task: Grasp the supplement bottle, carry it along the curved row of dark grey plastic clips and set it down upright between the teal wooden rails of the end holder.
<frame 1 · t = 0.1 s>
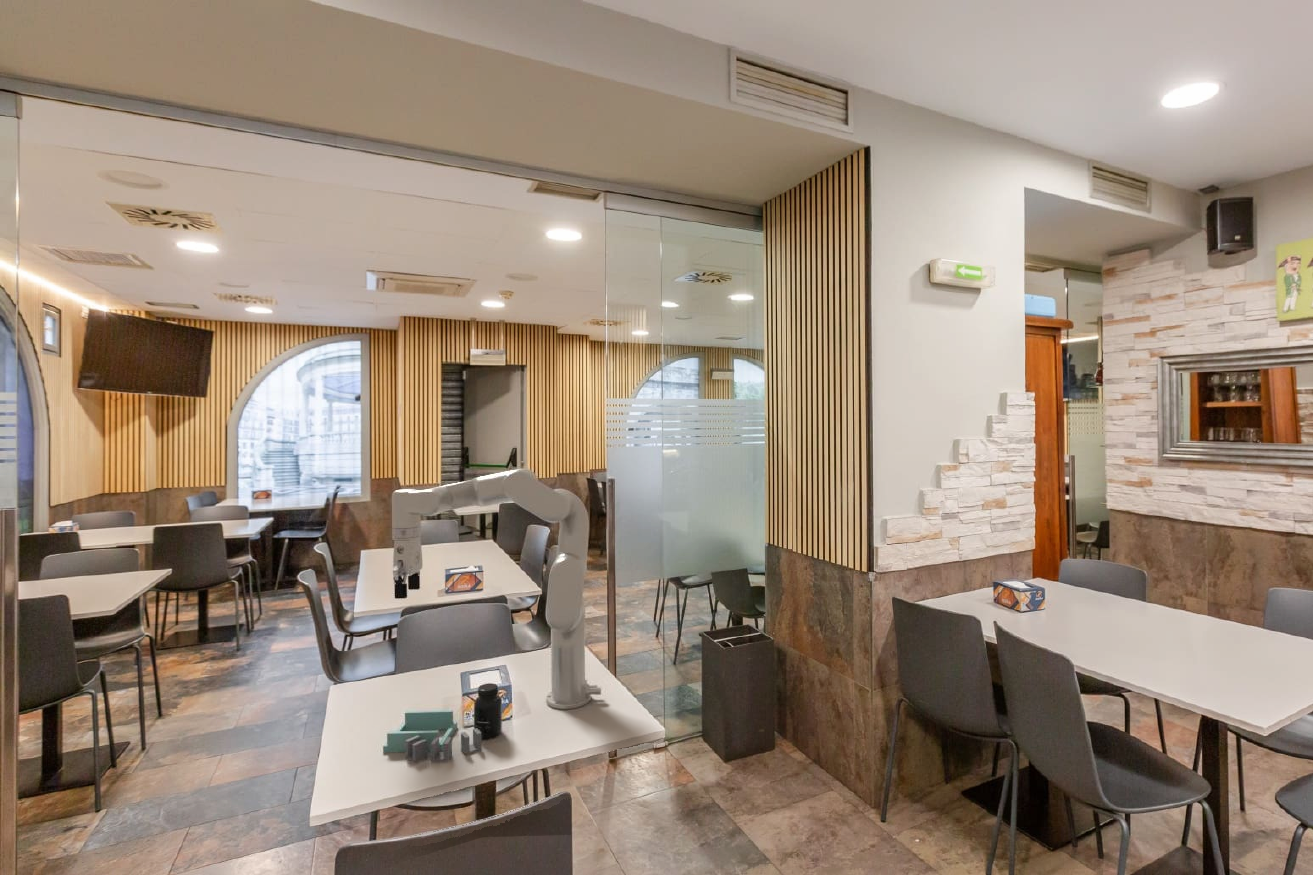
hand: (407, 593, 174), 31 cm above the table, fingers open, 9 cm apart
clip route: (444, 753, 147), on the table
end holder: (421, 739, 154), on the table
supplement bottle: (488, 734, 156), on the table
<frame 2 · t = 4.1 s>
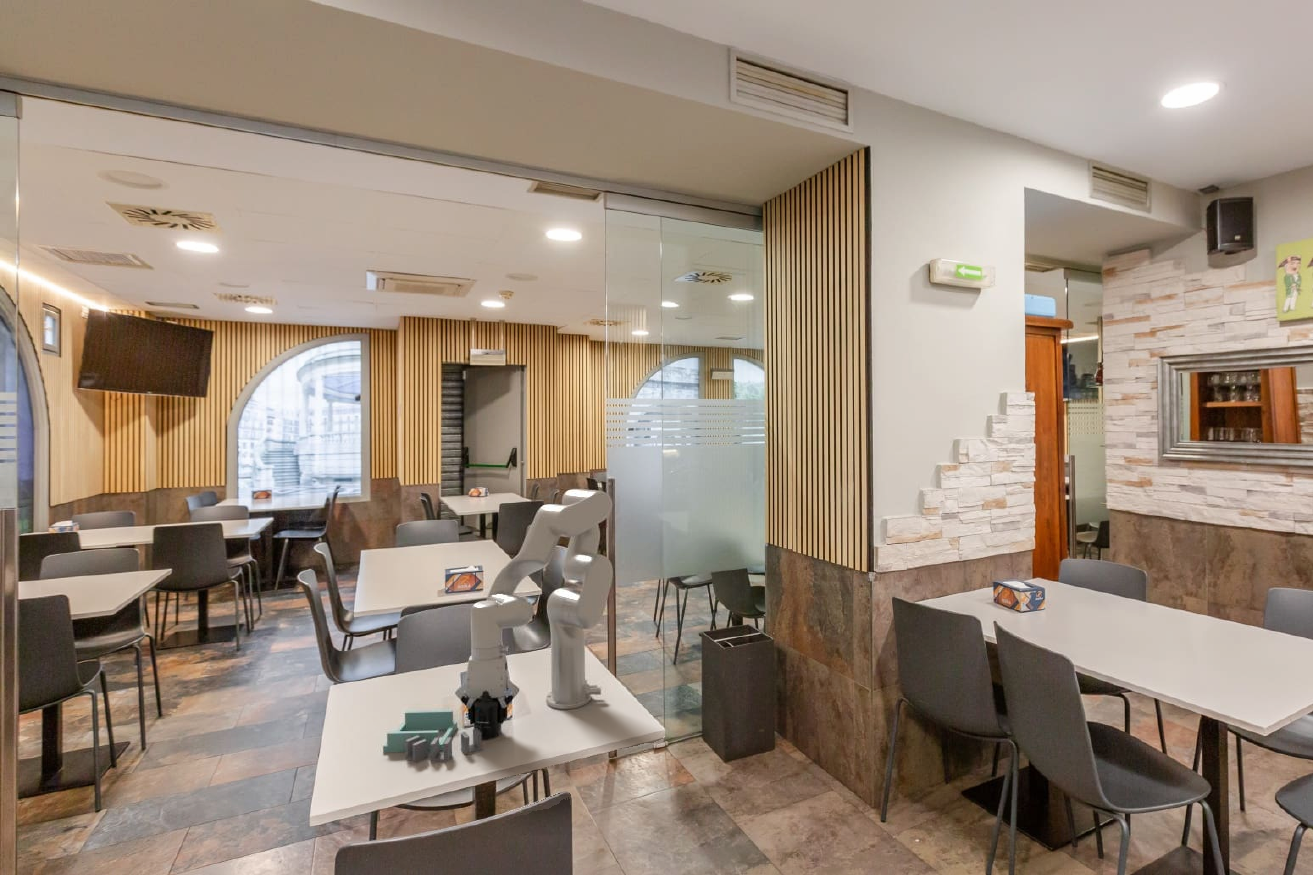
hand: (487, 721, 156), 3 cm above the table, fingers closed on supplement bottle, 6 cm apart
supplement bottle: (487, 734, 156), on the table, touching gripper
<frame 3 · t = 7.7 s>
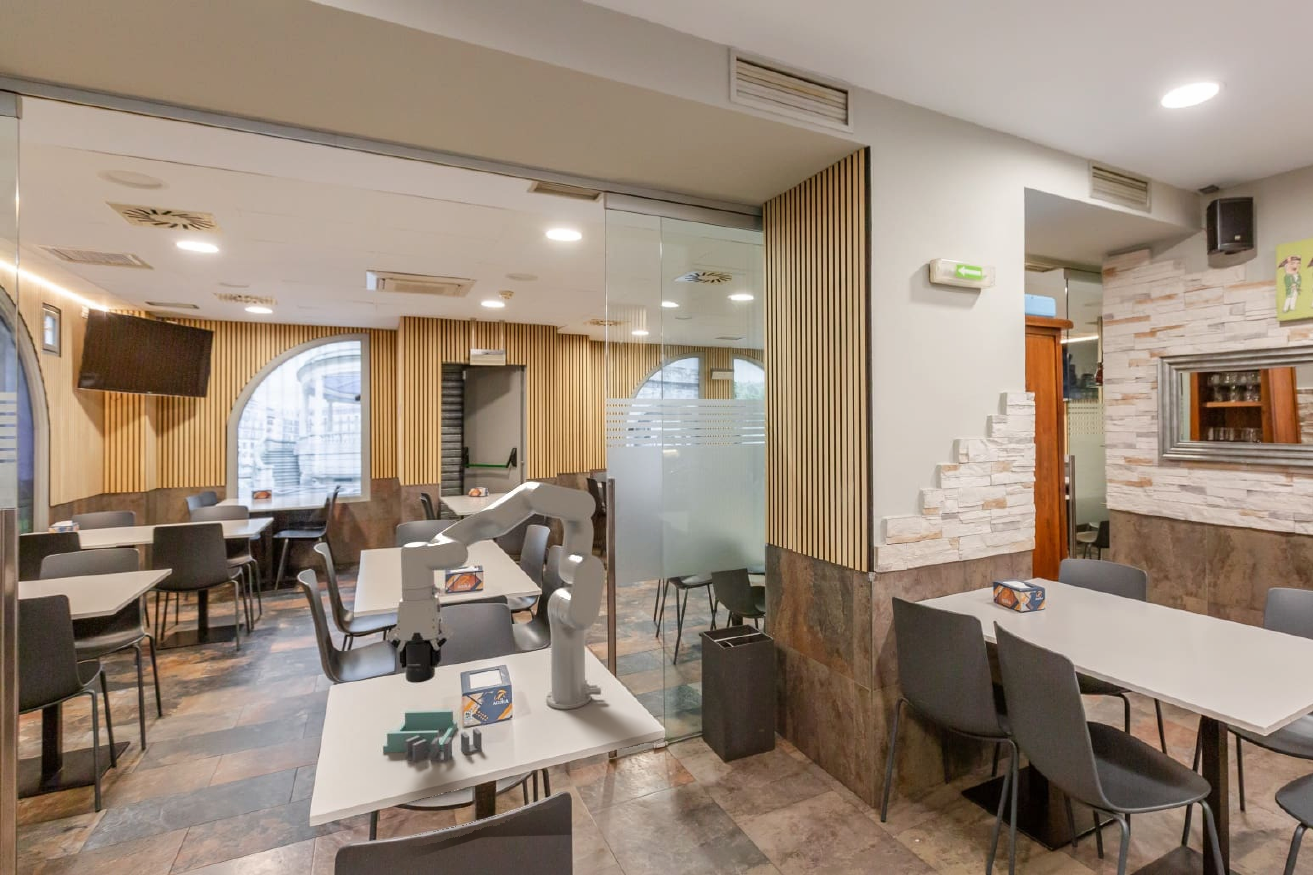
hand: (420, 664, 152), 19 cm above the table, fingers closed on supplement bottle, 6 cm apart
supplement bottle: (420, 678, 152), point 16 cm above the table, touching gripper
when the fingers open (5 cm above the table, at t = 11.3 s): supplement bottle drops 1 cm, resting in end holder.
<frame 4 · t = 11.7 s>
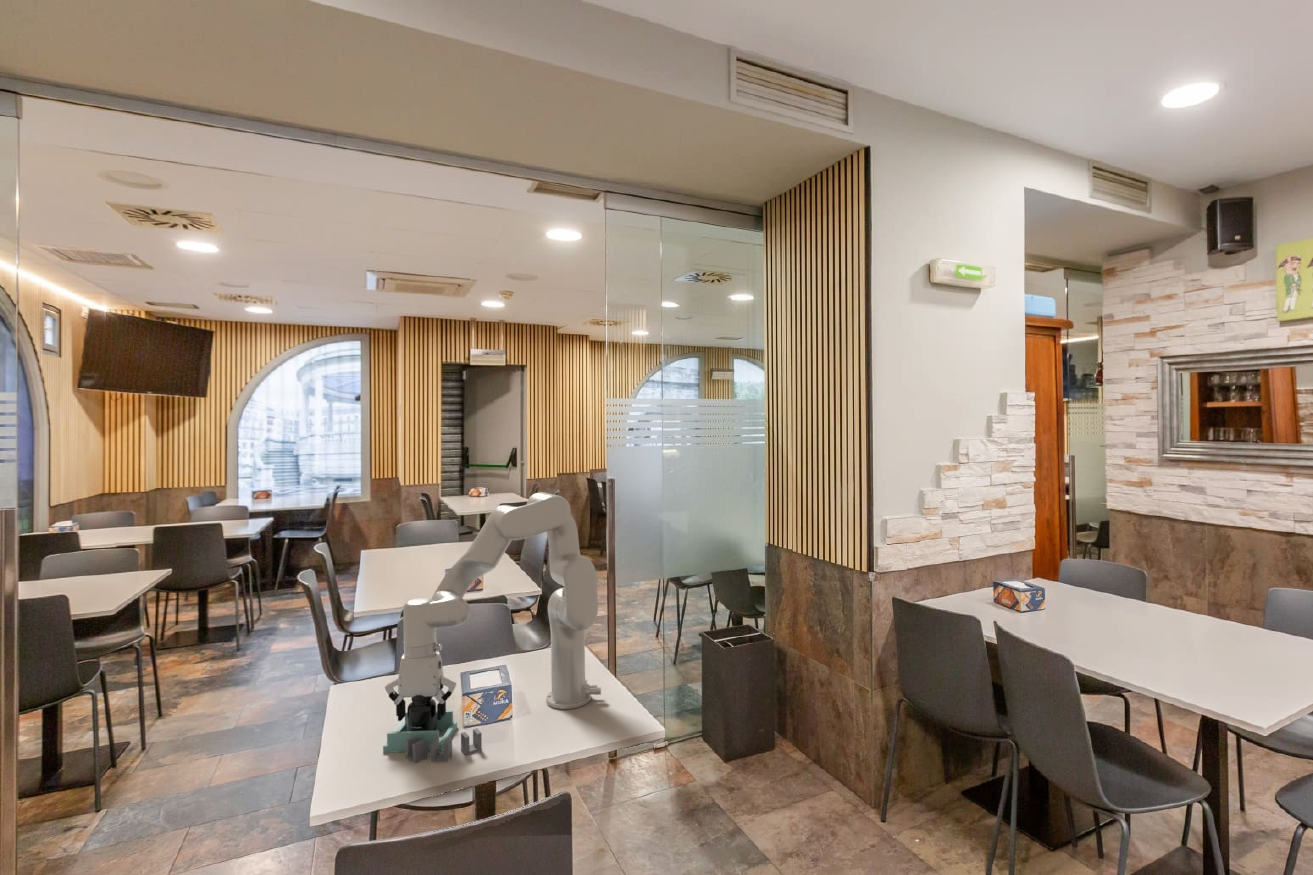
hand: (421, 718, 154), 5 cm above the table, fingers open, 9 cm apart
supplement bottle: (422, 740, 154), resting in end holder
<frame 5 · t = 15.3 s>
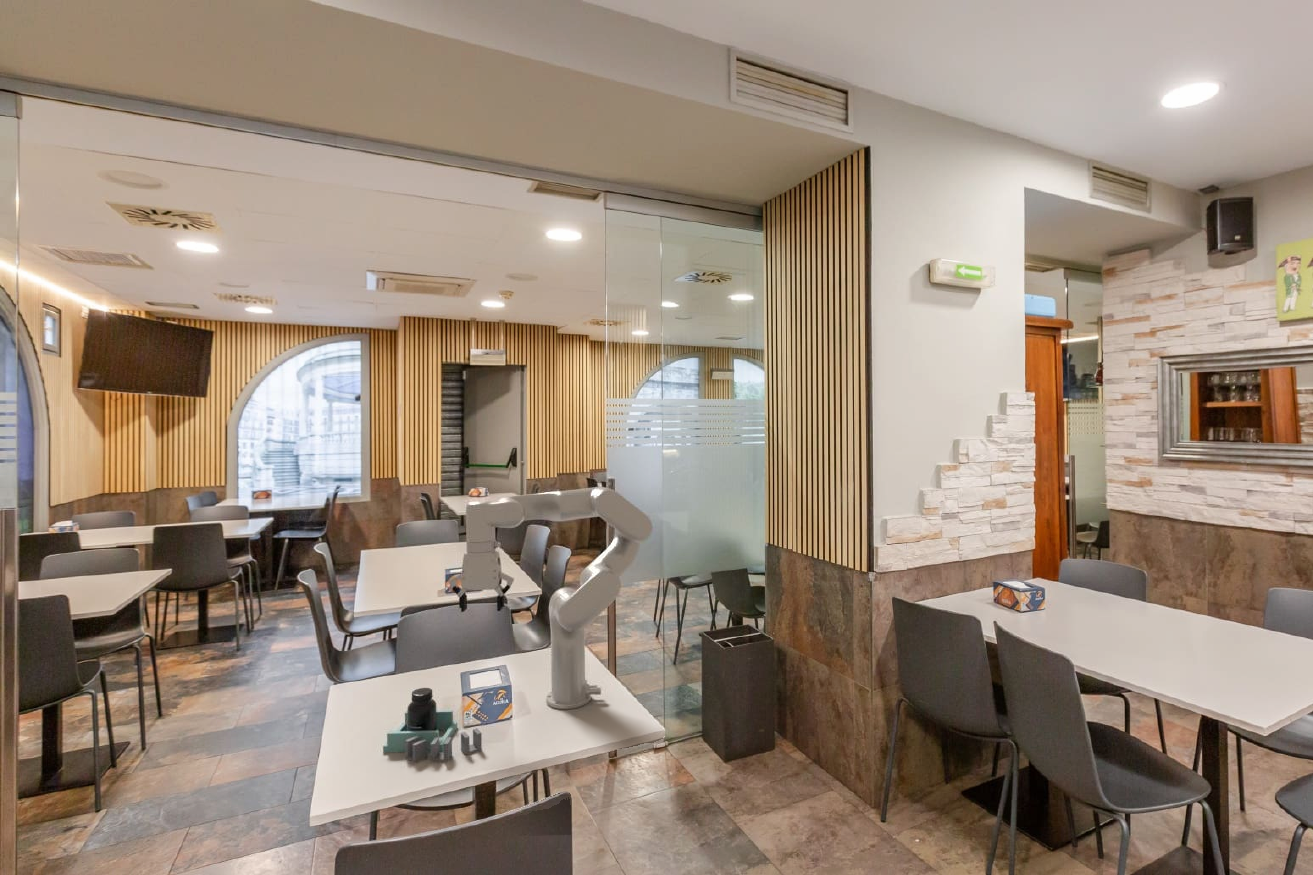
hand: (482, 610, 167), 28 cm above the table, fingers open, 9 cm apart
nothing on the table moved.
at the end: supplement bottle inside the target area on the end holder (0.1 cm from its centre), point 0.0 cm above the end holder's base; supplement bottle tilted 0°; the gripper is holding nothing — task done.
